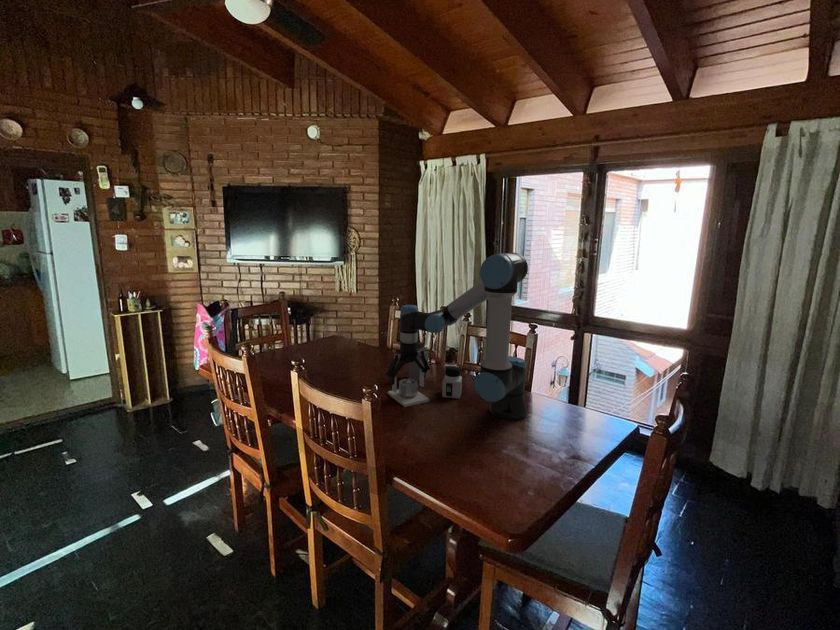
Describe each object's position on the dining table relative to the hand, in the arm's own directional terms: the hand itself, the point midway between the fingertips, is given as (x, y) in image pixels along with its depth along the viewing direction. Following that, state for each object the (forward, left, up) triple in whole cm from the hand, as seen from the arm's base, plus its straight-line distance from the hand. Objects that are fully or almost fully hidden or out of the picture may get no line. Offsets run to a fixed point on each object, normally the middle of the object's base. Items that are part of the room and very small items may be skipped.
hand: (408, 388), depth 191 cm
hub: (0, 0, -2) cm, 2 cm away
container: (-6, -19, -4) cm, 20 cm away
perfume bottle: (+19, -16, -4) cm, 25 cm away
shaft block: (0, 0, -4) cm, 4 cm away
